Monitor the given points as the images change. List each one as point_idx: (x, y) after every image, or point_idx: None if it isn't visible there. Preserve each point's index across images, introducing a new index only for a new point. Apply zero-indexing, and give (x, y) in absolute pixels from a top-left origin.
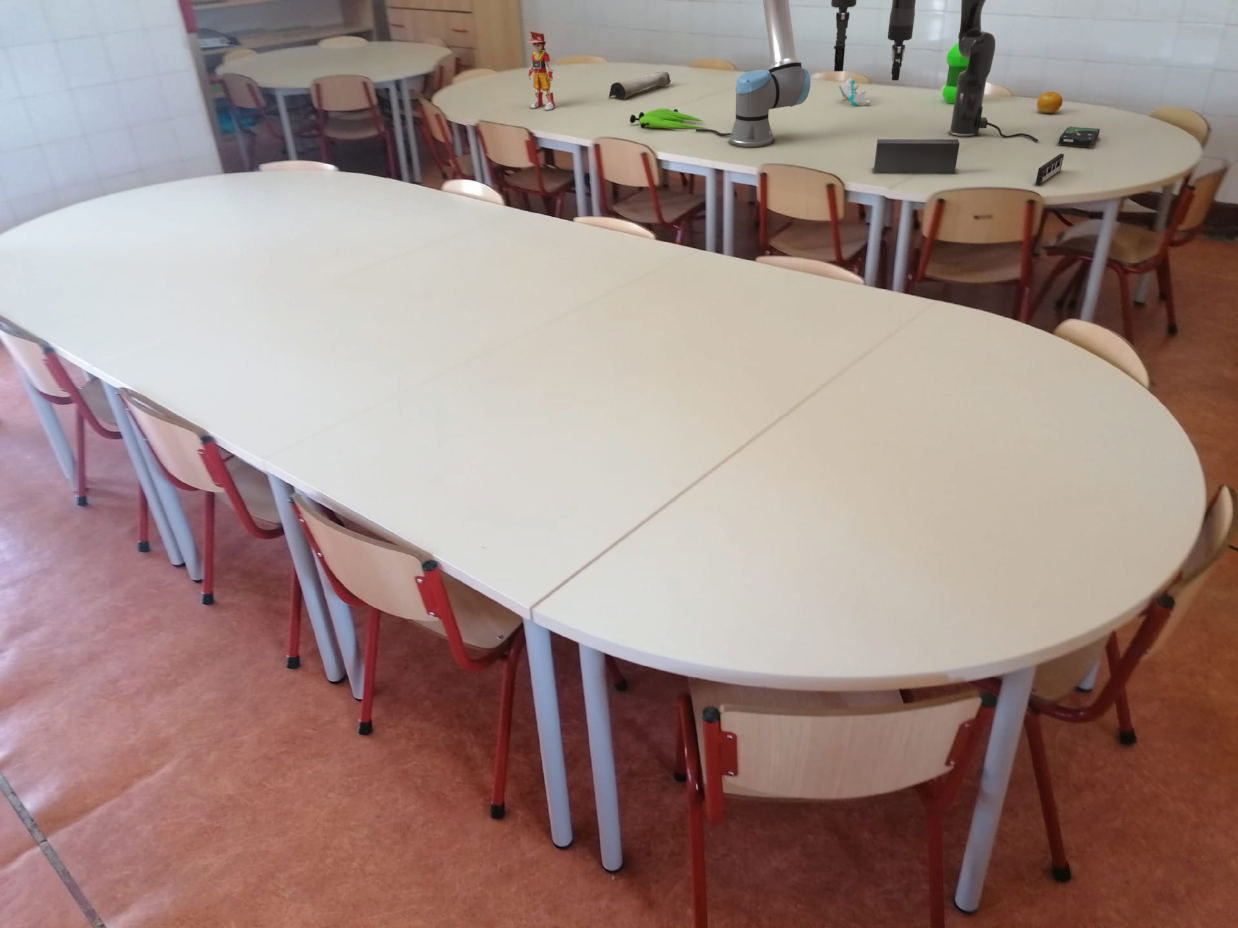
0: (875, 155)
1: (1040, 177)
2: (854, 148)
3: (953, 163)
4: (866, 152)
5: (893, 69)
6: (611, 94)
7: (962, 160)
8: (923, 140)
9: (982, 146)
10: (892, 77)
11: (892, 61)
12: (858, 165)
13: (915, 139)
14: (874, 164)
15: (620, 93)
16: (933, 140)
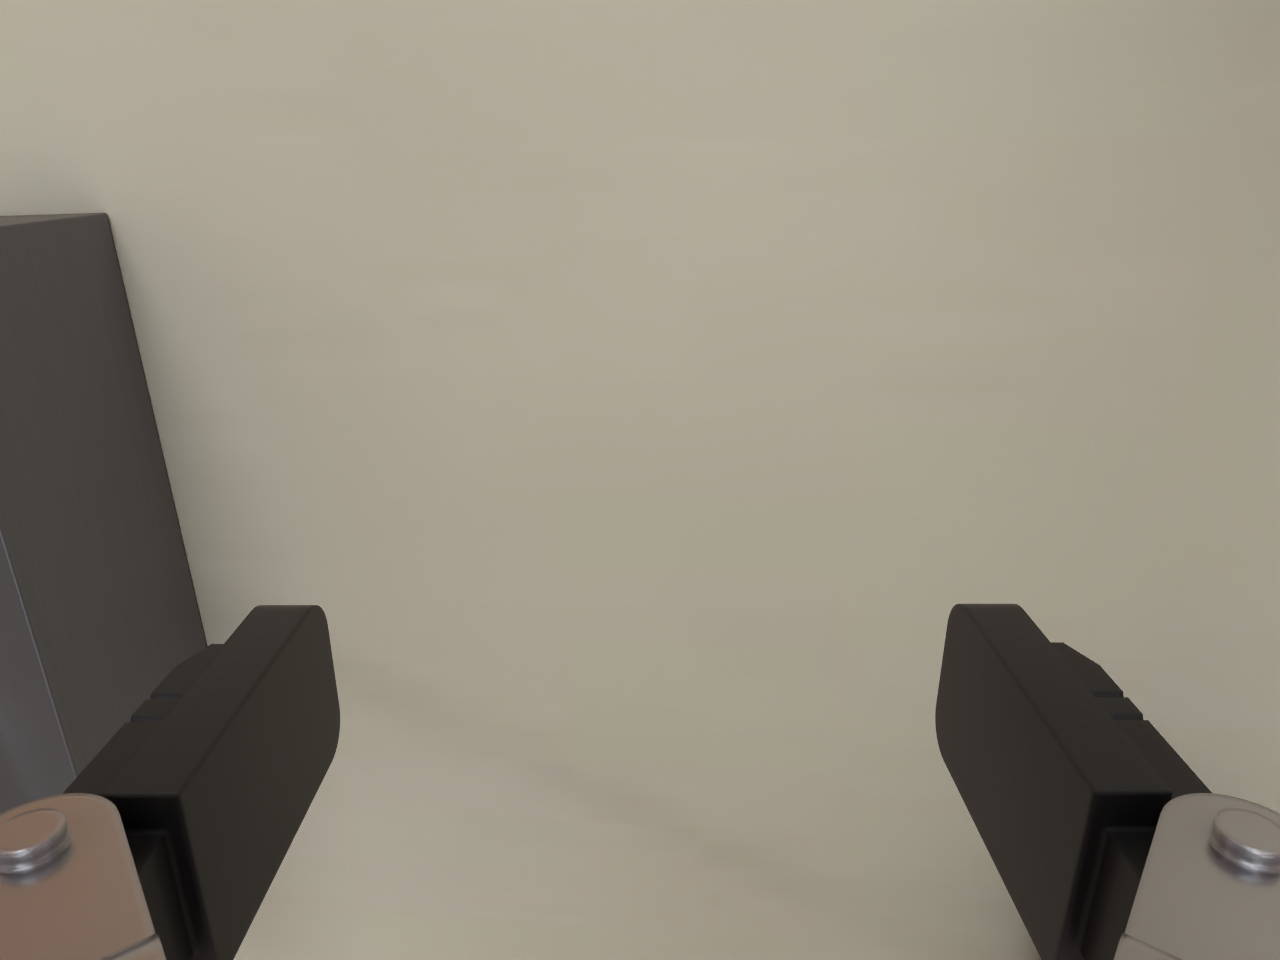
0: (20, 222)
1: None
2: (747, 8)
3: None
4: (611, 138)
5: (125, 785)
6: None
7: (457, 828)
8: (7, 691)
9: (796, 950)
10: (241, 642)
11: (1176, 813)
12: (176, 63)
13: (19, 625)
14: (76, 215)
15: None
16: (31, 768)
